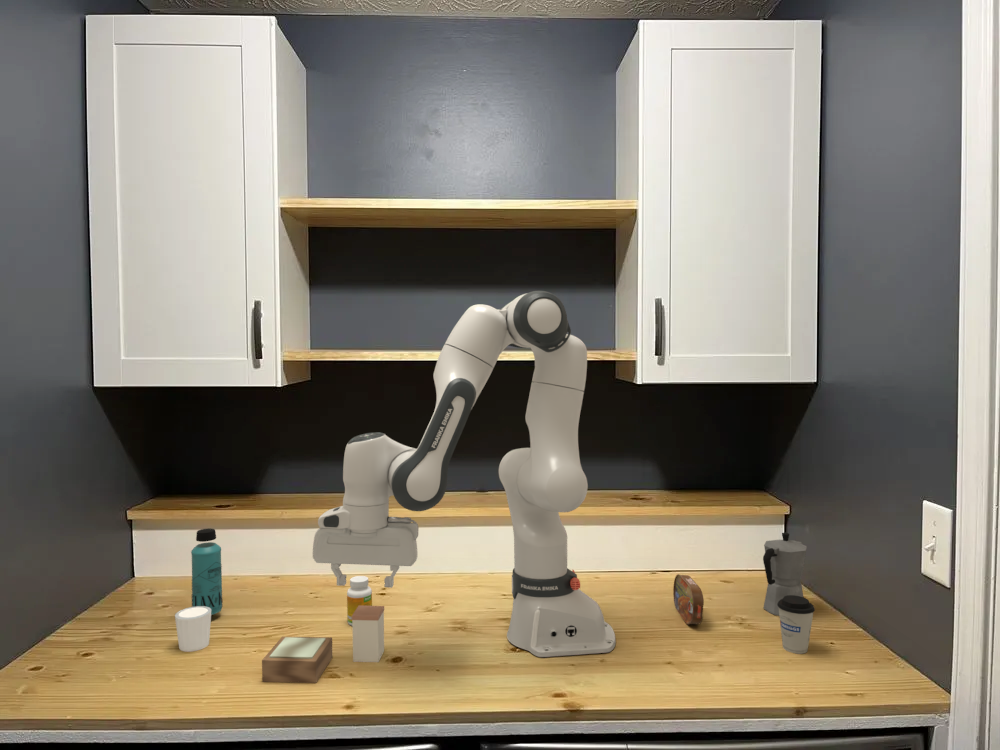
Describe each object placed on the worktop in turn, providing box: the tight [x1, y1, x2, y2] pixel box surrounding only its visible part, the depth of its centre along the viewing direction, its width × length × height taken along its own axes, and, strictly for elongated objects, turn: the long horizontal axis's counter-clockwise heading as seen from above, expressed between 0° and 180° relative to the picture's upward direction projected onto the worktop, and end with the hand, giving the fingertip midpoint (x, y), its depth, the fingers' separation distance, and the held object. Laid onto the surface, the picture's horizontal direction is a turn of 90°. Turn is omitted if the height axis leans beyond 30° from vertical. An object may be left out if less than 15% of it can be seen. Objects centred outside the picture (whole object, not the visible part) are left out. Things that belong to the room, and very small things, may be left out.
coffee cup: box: [777, 595, 816, 655], centre depth 137 cm, size 7×7×10 cm
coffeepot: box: [762, 531, 808, 617], centre depth 156 cm, size 15×9×18 cm, turn 129°
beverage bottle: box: [190, 528, 224, 616], centre depth 154 cm, size 6×7×20 cm
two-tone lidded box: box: [351, 605, 385, 663], centre depth 135 cm, size 5×5×9 cm
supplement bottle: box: [346, 575, 373, 626], centre depth 151 cm, size 5×5×10 cm
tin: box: [672, 574, 705, 625], centre depth 153 cm, size 15×3×8 cm, turn 1°
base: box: [261, 636, 334, 684], centre depth 130 cm, size 10×10×4 cm
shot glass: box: [174, 606, 212, 653], centre depth 140 cm, size 7×7×7 cm
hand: (365, 585), depth 135 cm, fingers open, 8 cm apart
